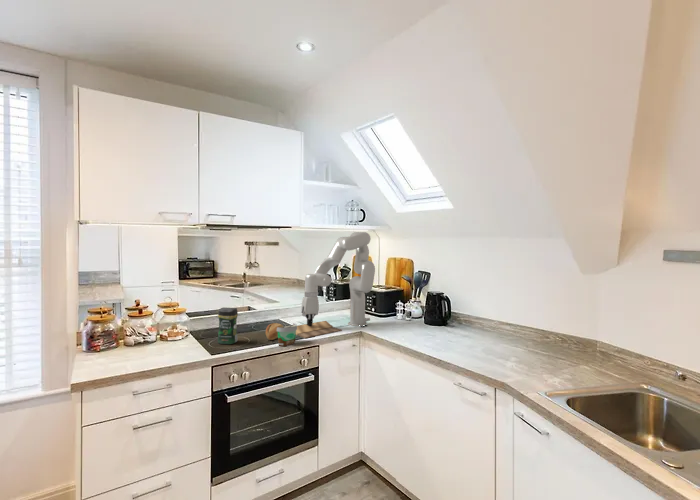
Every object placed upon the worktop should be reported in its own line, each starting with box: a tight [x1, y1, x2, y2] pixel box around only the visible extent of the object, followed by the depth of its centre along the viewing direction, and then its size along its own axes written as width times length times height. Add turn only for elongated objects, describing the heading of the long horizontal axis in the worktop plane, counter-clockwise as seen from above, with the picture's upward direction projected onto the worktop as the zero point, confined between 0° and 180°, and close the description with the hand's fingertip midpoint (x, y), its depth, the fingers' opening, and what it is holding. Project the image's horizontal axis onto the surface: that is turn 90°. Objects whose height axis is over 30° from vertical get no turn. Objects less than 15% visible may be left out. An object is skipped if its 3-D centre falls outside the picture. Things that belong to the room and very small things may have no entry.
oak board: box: [296, 320, 334, 336], centre depth 214 cm, size 26×8×2 cm, turn 131°
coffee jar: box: [217, 307, 239, 345], centre depth 189 cm, size 10×8×19 cm
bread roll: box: [265, 322, 285, 341], centre depth 199 cm, size 10×15×8 cm, turn 171°
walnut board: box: [297, 326, 343, 339], centre depth 208 cm, size 26×8×2 cm, turn 131°
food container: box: [277, 322, 298, 348], centre depth 186 cm, size 12×6×10 cm, turn 143°
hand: (309, 325), depth 214 cm, fingers closed
